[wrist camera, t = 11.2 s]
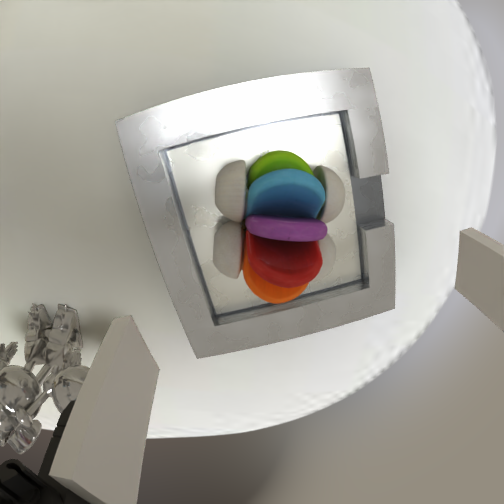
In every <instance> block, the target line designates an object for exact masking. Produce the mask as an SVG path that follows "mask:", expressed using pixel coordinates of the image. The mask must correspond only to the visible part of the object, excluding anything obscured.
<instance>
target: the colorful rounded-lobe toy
mask: <svg viewBox="0 0 504 504" xmlns="http://www.w3.org/2000/svg"><path fill="white" fill-rule="evenodd" d="M344 203H345V188H344V185H343V182H342V180H341V179H340V177H339V176H338V175H337V174H336V173H335V172H334V171H333V170H331V169H330V168H328V167H325V166H322V165H318V166H316V167H315V169H314V170H313V172H312V170H311V168H310V167H309V165H308V164H307V163H306V162H305V161H304V160H303V159H302V158H301V157H300V156H298V155H296V154H295V153H293V152H290V151H284V150H277V151H272V152H269V153H266V154H265V155H263V156H262V157H260V158H259V159H258V160H257V161H256V162H255V163H254V164H253V165H252V166H251V167H250V169H249V171H248V174H247V175H246V163H245V161H244V160H238V161H234V162H231V163H229V164H227V165H226V166H225V167H223V168H222V169H221V170H220V171H219V173H218V174H217V176H216V185H215V205H216V207H217V208H218V210H219V211H220V212H221V213H222V214H223V215H224V216H225V217H227V218H228V219H230V220H233V221H230V222H227V223H225V224H224V225H222V226H221V227H220V228H219V229H218V230H217V231H216V233H215V234H214V245H213V263H214V265H215V267H216V268H217V269H218V270H219V271H220V272H221V273H222V274H224V275H225V276H227V277H229V278H233V279H237V278H238V277H239V274H240V272H241V270H243V276H244V280H245V282H246V284H247V285H248V287H249V288H250V290H251V291H252V292H253V293H254V294H255V295H256V296H258V297H259V298H261V299H262V300H264V301H267V302H269V303H274V304H280V303H285V302H288V301H291V300H293V299H294V298H296V297H298V296H299V295H300V294H301V293H302V292H303V291H304V290H305V289H306V287H307V286H308V284H309V283H312V282H316V281H319V280H321V279H323V278H324V277H326V276H327V275H328V274H329V273H330V271H331V270H332V268H333V266H334V264H335V260H336V247H335V244H334V242H333V240H332V238H331V237H330V235H329V234H328V233H327V231H328V229H327V226H326V223H328V222H330V221H332V220H334V219H335V218H336V217H337V216H338V215H339V214H340V212H341V211H342V209H343V207H344ZM243 219H246V220H245V225H246V229H245V230H243V229H242V220H243Z"/></svg>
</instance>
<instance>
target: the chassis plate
mask: <svg viewBox="0 0 504 504" xmlns="http://www.w3.org/2000/svg"><path fill="white" fill-rule="evenodd" d="M115 123H116V127H117V132H118V136H119V140H120V143H121V147H122V151H123V155H124V159H125V162H126V166H127V169H128V173H129V176H130V180H131V183H132V187H133V190H134V193H135V197H136V200H137V203H138V206H139V209H140V213H141V216H142V219H143V222H144V225H145V228H146V231H147V234H148V237H149V240H150V243H151V245H152V248H153V251H154V254H155V257H156V259H157V262H158V265H159V268H160V270H161V273H162V276H163V278H164V281H165V284H166V286H167V289H168V291H169V294H170V296H171V299H172V301H173V304H174V306H175V309H176V311H177V314H178V316H179V319H180V321H181V323H182V326H183V328H184V330H185V333H186V335H187V337H188V340H189V342H190V344H191V346H192V349H193V351H194V353H195V355H196V358H197V359H198V358H204V357H209V356H215V355H220V354H225V353H230V352H235V351H240V350H245V349H250V348H254V347H259V346H263V345H268V344H272V343H276V342H281V341H285V340H289V339H293V338H297V337H301V336H305V335H308V334H312V333H316V332H320V331H323V330H327V329H330V328H334V327H337V326H341V325H344V324H348V323H351V322H354V321H358V320H361V319H364V318H367V317H371V316H374V315H377V314H380V313H383V312H386V311H389V310H392V309H395V239H394V224H393V223H391V222H390V221H388V220H386V219H385V212H384V201H383V191H382V182H381V175H382V174H388V173H389V168H388V160H387V153H386V146H385V140H384V134H383V128H382V122H381V117H380V112H379V107H378V102H377V97H376V92H375V88H374V84H373V79H372V75H371V71H370V68H351V69H336V70H325V71H315V72H306V73H298V74H290V75H284V76H277V77H271V78H265V79H260V80H254V81H249V82H244V83H239V84H235V85H230V86H226V87H221V88H217V89H213V90H209V91H205V92H201V93H198V94H194V95H190V96H187V97H183V98H180V99H177V100H173V101H170V102H167V103H164V104H161V105H158V106H155V107H152V108H149V109H146V110H143V111H140V112H137V113H135V114H132V115H129V116H127V117H124V118H121V119H119V120H116V121H115ZM277 150H284V151H290V152H293V153H295V154H296V155H298V156H300V157H301V158H302V159H303V160H304V161H305V162H306V163H307V164H308V165H309V167H310V168H311V170H312V172H313V170H314V169H315V167H316V166H318V165H322V166H325V167H328V168H330V169H331V170H333V171H334V172H335V173H336V174H337V175H338V176H339V177H340V179H341V180H342V182H343V185H344V188H345V203H344V207H343V209H342V211H341V212H340V214H339V215H338V216H337V217H336V218H335V219H334V220H332V221H330V222H328V223H326V226H327V229H328V231H327V233H328V234H329V235H330V237H331V238H332V240H333V242H334V244H335V247H336V260H335V264H334V266H333V268H332V270H331V271H330V273H329V274H328V275H327V276H326V277H324V278H323V279H321V280H319V281H316V282H312V283H309V284H308V286H307V287H306V289H305V290H304V291H303V292H302V293H301V294H300V295H299V296H298V297H296V298H294V299H293V300H291V301H288V302H285V303H280V304H274V303H269V302H267V301H264V300H262V299H261V298H259V297H258V296H256V295H255V294H254V293H253V292H252V291H251V290H250V288H249V287H248V285H247V284H246V282H245V280H244V276H243V270H241V272H240V274H239V277H238V278H237V279H233V278H229V277H227V276H225V275H224V274H222V273H221V272H220V271H219V270H218V269H217V268H216V267H215V265H214V263H213V245H214V234H215V233H216V231H217V230H218V229H219V228H220V227H221V226H222V225H224V224H225V223H227V222H230V221H233V220H230V219H228V218H227V217H225V216H224V215H223V214H222V213H221V212H220V211H219V210H218V208H217V207H216V205H215V185H216V176H217V174H218V173H219V171H220V170H221V169H222V168H223V167H225V166H226V165H227V164H229V163H231V162H234V161H238V160H244V161H245V163H246V175H247V174H248V171H249V169H250V167H251V166H252V165H253V164H254V163H255V162H256V161H257V160H258V159H259V158H260V157H262V156H263V155H265V154H266V153H269V152H272V151H277ZM245 220H246V219H243V220H242V229H243V230H245V229H246V225H245Z"/></svg>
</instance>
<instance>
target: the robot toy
mask: <svg viewBox="0 0 504 504" xmlns="http://www.w3.org/2000/svg"><path fill="white" fill-rule="evenodd" d="M32 304H33V303H32ZM30 310H31V312H29V315H28V331H27V333H26V336H25V341H26V343H25V347H24V353H25V360H26V364H25V366H24V367H22V366H18V365H10V366H8V365H9V364H10V361H11V359H12V358H13V356H14V355H15V353H16V352H17V349H16V348H17V347H18V345H17V343H18V342H11V343H10V344H9V345H7V347H6V348H5V344H0V445H1V446H2V447H3V446H4V445H5V444H6V442H8V443H9V444H10V445H11V446H12V448H13V449H14V450H15V451H16V452H17V453H19V454H23V453H24V452H25V451H27V450H28V449H29V448H30V447H32V445H33V444H34V442H35V441H36V439H37V438H38V436H39V434H40V432H41V427H42V424H41V423H40V422H39V421H38V420H32V419H34V418H35V417H36V416H37V414H38V413H39V411H40V409H41V406H42V404H43V403H44V402H45V401H46V399H47V398H48V397H52V399H53V402H54V404H55V406H56V408H57V409H58V411H59V412H60V413H62V411H63V410H64V409H65V408H66V406H67V405H68V404H69V403H70V401H71V400H76V399H77V397H78V394H79V392H80V390H81V387H82V385H83V383H84V380H85V378H86V376H87V374H88V371H89V369H90V368H89V367H87V366H82V365H81V359H82V358H81V353H80V351H81V350H80V349H74V351H73V347H75V348H82V347H83V343H82V339H81V334H80V332H79V330H80V329H79V321H78V315H77V311H76V310H74V309H71V308H68V307H67V305H66V304H65V306H63V305H60V304H58V310H57V312H56V315H55V318H54V323H53V328H52V329H46V328H49V327H52V323H51V320H50V318H49V316H48V314H47V312H46V310H45V308H44V306H43V305H39V306H36V307H35V306H34V304H33V307H32V308H31V309H30ZM73 330H75V331H73ZM42 364H45V365H44V366H43V367H42V369H41V370H40V371H39V373H38V374H37V375H36V377H35V375H34V374H33V373H32V370H33V368H34V366H35V365H42ZM50 373H51V374H50ZM49 374H50V375H49ZM42 384H43V390H44V392H43V393H42V392H41V386H42ZM13 430H16V431H15V432H14V433H13V434H12V435H11V437H10V434H11V431H13ZM9 437H10V438H9Z"/></svg>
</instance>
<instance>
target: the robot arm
mask: <svg viewBox="0 0 504 504" xmlns="http://www.w3.org/2000/svg"><path fill="white" fill-rule="evenodd" d="M455 289H456V290H457V291H458V292H459V293H461V294H462V295H463V296H464V297H466V299H468V300H469V301H470V302H471V303H472V304H473V305H475V306H476V307H477V308H478V309H479V310H480V311H481V312H483V313H484V314H485V315H486V316H487V317H488V318H489V319H490V320H491V321H492V322H493V323H494V324H495V325H497V326H498V327H499V328H500V329H501V330H502V331H503V332H504V245H502V244H501V243H499V242H498V241H496V240H494V239H492V238H490V237H489V236H486V235H485V234H483V233H481V232H479V231H477V230H476V229H474V228H468V229H465V230H462V231H460V238H459V253H458V264H457V274H456V282H455ZM159 370H160V369H159V367H158V365H157V364H156V362H155V360H154V358H153V356H152V355H151V353H150V351H149V349H148V347H147V345H146V344H145V342H144V340H143V338H142V336H141V334H140V332H139V330H138V328H137V326H136V324H135V322H134V320H133V318H132V316H131V315H129V316H124V317H119V318H114V319H113V321H112V323H111V325H110V327H109V329H108V331H107V333H106V335H105V337H104V339H103V341H102V343H101V345H100V347H99V350H98V352H97V354H96V356H95V358H94V360H93V362H92V365H91V367H90V369H89V371H88V374H87V376H86V378H85V380H84V383H83V385H82V387H81V390H80V392H79V394H78V397H77V399H76V400H71V401H70V403H69V404H68V405H67V406H66V408H65V409H64V410H63V411H62V413H61V415H60V418H59V420H58V423H57V427H56V428H55V430H54V433H53V438H51V441H50V443H49V446H48V449H47V451H46V454H45V457H44V460H43V463H42V465H41V468H40V472H39V474H38V476H37V475H36V474H34V473H33V472H32V471H31V470H30V469H28V468H27V467H26V466H25V465H24V464H22V463H21V462H20V461H18V460H15V459H10V460H7V461H5V462H4V463H3V464H2V465H0V504H137V496H138V489H139V481H140V475H141V468H142V461H143V455H144V449H145V443H146V437H147V431H148V425H149V420H150V414H151V409H152V404H153V399H154V394H155V389H156V384H157V379H158V374H159Z"/></svg>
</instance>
